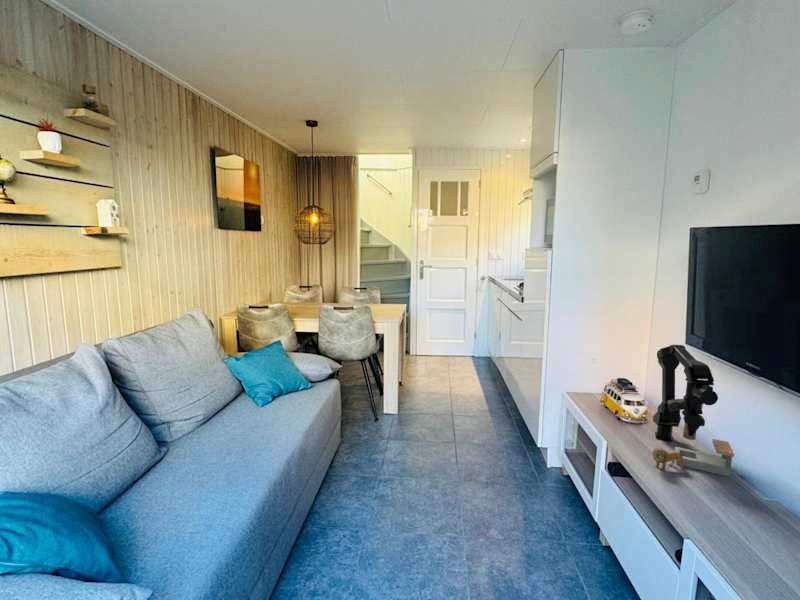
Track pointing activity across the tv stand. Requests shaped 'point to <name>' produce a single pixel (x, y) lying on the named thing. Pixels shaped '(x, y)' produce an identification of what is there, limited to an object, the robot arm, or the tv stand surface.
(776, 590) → the tv stand surface
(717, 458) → the socket block
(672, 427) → the robot arm
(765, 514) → the tv stand surface
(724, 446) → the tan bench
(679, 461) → the lion figurine
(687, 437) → the peg
